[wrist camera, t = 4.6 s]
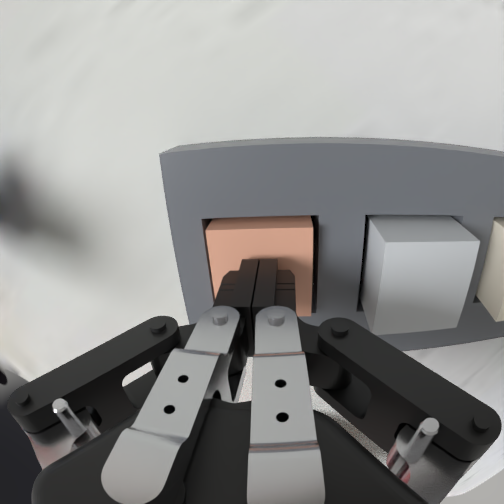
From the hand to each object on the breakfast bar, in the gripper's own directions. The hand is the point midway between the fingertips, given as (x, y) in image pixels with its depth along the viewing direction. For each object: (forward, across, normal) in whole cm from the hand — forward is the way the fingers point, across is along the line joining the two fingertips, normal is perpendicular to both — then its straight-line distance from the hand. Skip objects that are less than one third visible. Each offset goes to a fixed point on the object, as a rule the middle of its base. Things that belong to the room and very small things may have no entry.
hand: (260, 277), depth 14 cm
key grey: (+2, -7, 0) cm, 7 cm away
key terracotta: (+3, 0, 0) cm, 3 cm away
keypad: (+3, -7, 0) cm, 8 cm away
